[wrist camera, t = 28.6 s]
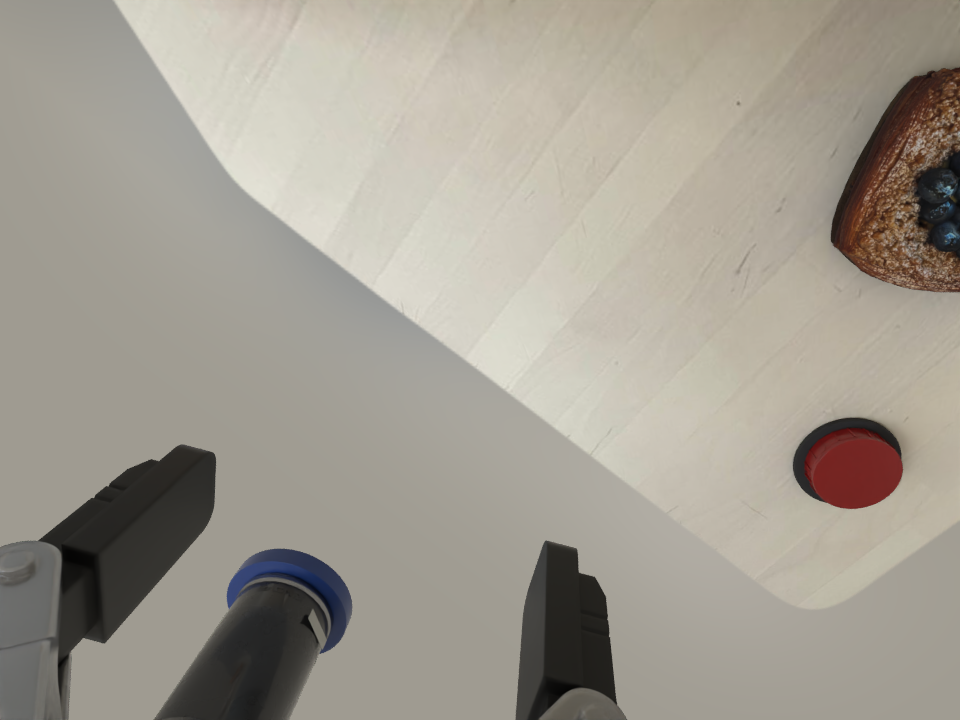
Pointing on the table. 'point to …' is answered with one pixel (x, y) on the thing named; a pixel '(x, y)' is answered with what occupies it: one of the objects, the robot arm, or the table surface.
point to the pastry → (908, 190)
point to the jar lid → (853, 468)
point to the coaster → (825, 430)
